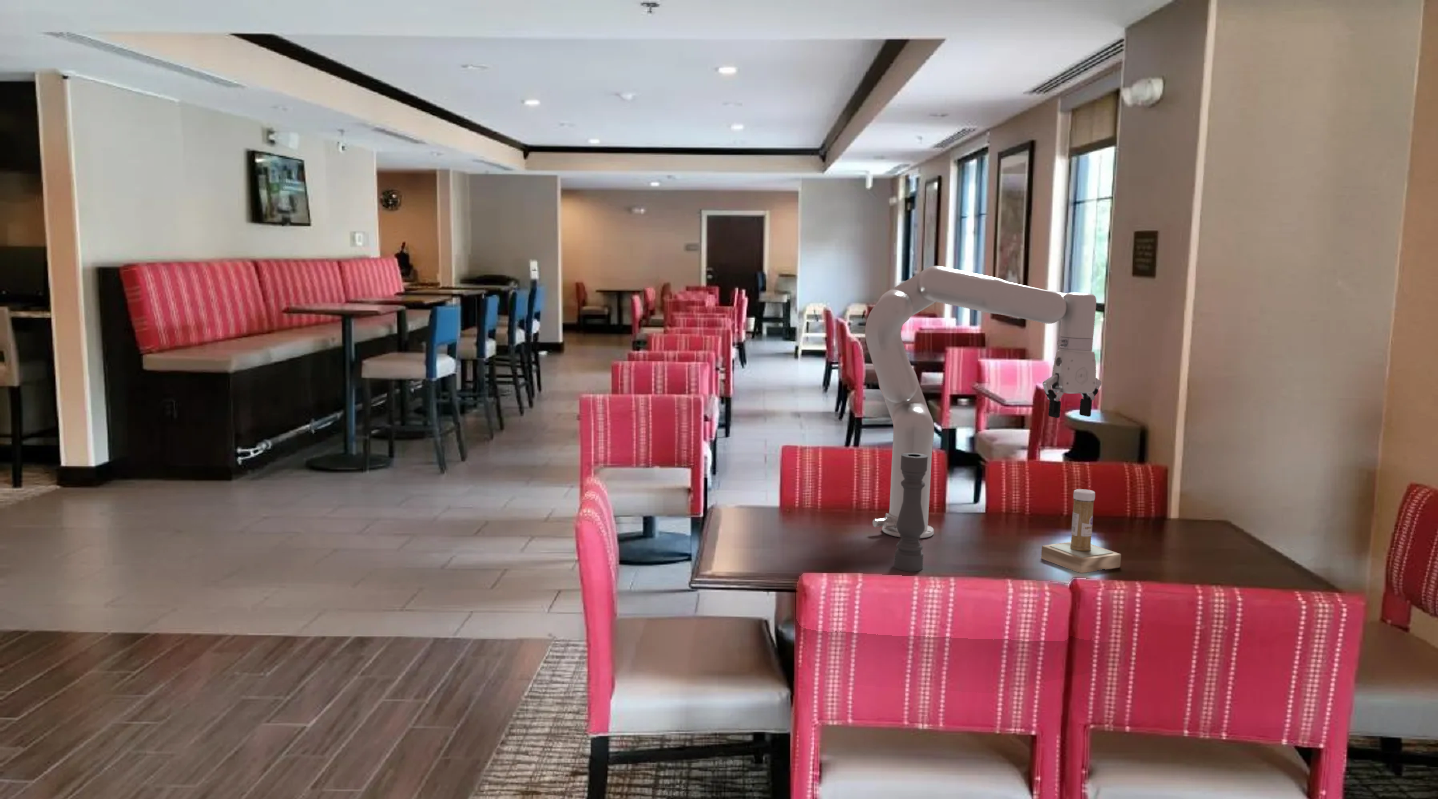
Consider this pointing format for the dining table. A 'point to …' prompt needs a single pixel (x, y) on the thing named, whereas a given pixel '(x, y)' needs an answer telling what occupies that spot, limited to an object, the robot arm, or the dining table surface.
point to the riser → (1080, 557)
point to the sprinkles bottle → (1082, 519)
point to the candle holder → (911, 513)
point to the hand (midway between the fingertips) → (1069, 416)
